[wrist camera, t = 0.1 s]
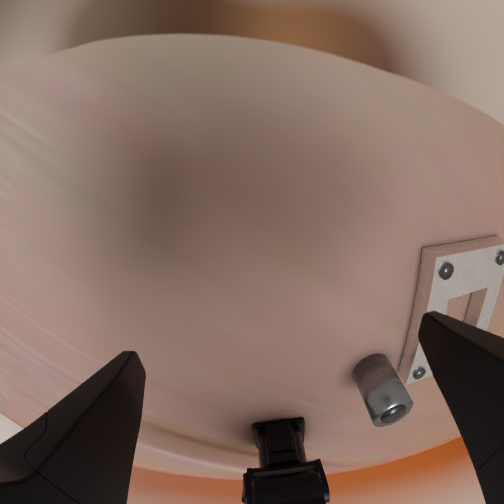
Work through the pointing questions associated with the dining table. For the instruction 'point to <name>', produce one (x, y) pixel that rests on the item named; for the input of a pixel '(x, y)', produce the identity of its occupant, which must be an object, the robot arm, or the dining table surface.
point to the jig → (453, 291)
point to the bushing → (381, 390)
